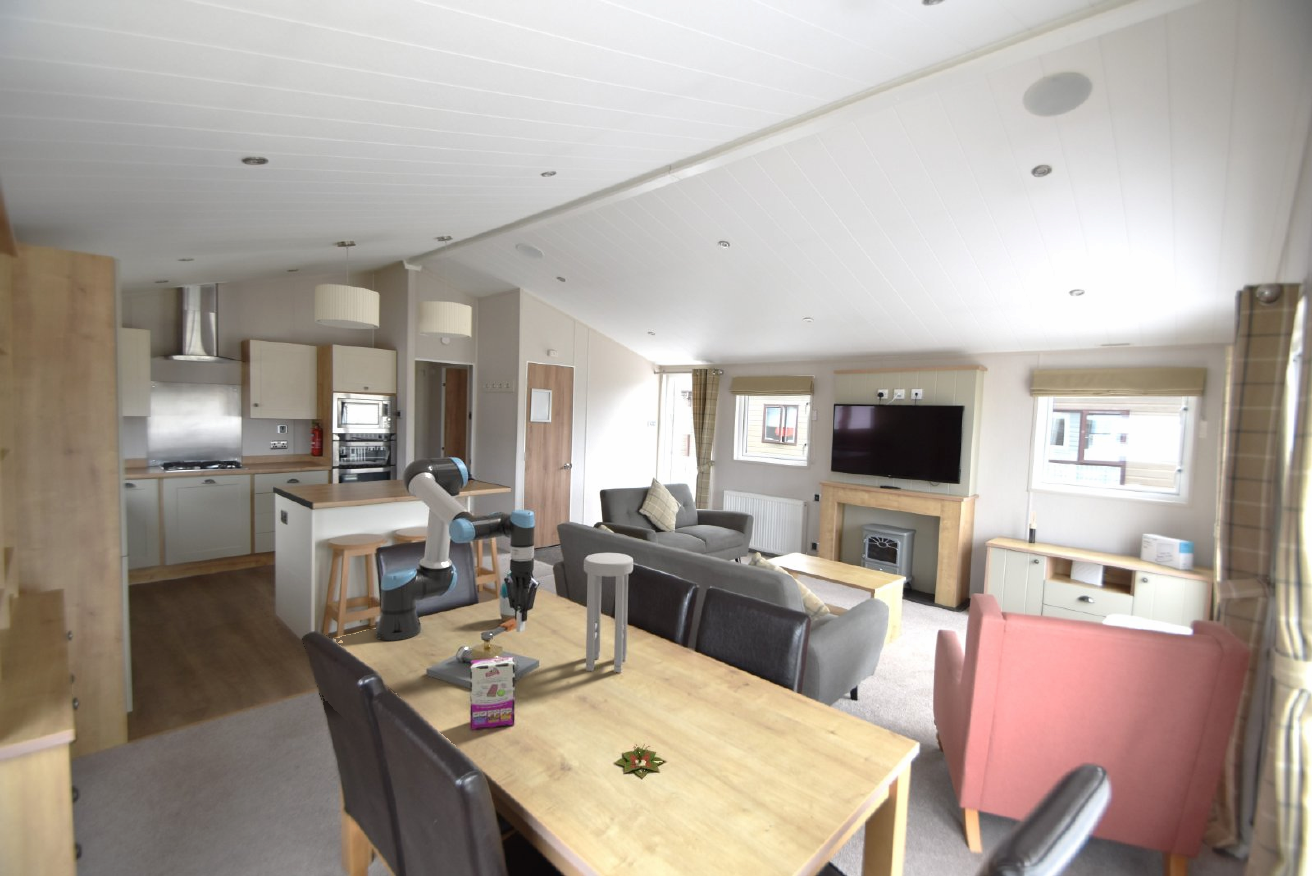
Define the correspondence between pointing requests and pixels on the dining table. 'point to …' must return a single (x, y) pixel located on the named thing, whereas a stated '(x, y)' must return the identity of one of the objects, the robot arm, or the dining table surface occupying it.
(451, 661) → the valve board
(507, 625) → the valve lever
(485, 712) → the candy bar box
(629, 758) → the lily flower
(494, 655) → the valve pipe
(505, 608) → the vase
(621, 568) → the stool
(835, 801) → the dining table surface
